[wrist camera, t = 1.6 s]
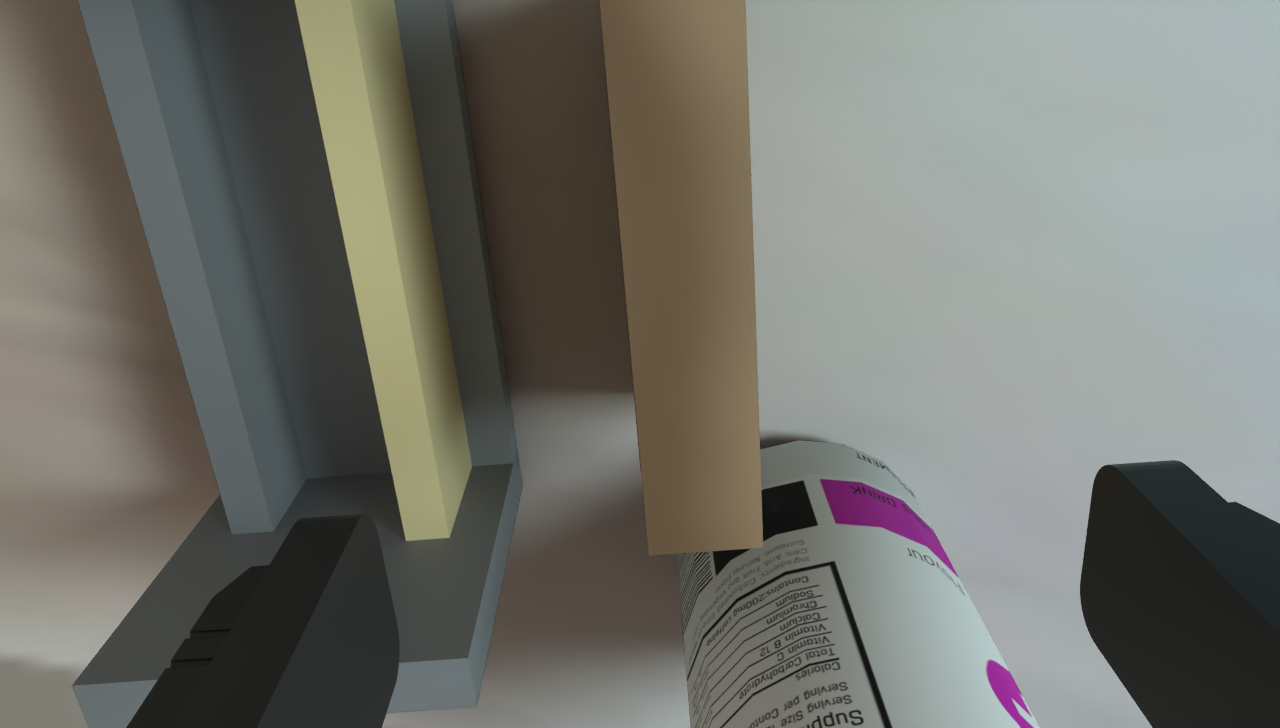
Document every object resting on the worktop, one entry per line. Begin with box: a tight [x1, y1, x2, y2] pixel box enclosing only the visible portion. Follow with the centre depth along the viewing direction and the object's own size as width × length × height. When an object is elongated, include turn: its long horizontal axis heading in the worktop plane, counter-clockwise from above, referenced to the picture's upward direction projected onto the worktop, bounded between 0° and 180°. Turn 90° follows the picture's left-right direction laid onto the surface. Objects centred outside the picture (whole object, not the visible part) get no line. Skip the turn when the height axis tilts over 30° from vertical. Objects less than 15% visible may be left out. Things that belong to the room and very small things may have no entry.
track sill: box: [72, 0, 522, 728], centre depth 23 cm, size 9×18×10 cm, turn 4°
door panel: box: [600, 0, 763, 556], centre depth 23 cm, size 3×12×9 cm, turn 5°
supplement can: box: [677, 440, 1040, 728], centre depth 25 cm, size 8×8×15 cm
